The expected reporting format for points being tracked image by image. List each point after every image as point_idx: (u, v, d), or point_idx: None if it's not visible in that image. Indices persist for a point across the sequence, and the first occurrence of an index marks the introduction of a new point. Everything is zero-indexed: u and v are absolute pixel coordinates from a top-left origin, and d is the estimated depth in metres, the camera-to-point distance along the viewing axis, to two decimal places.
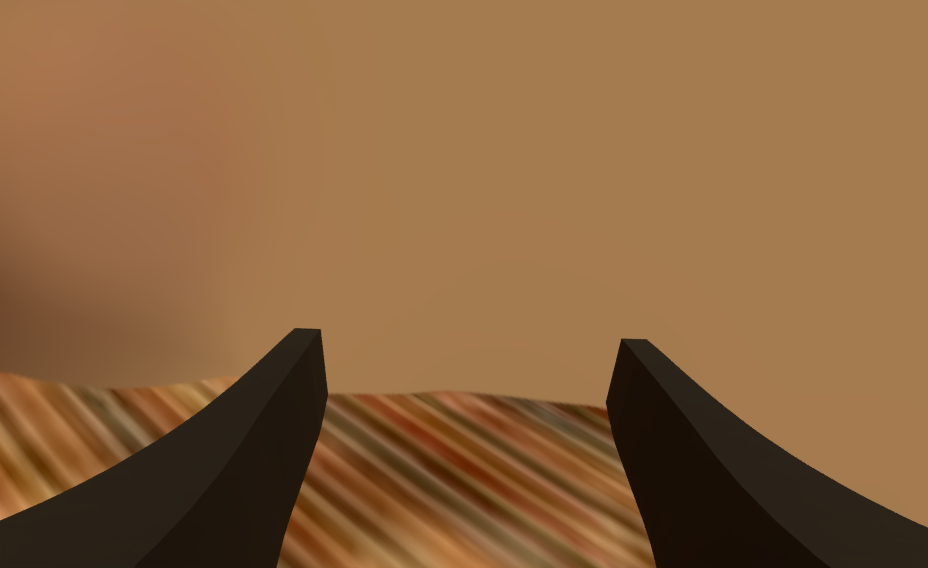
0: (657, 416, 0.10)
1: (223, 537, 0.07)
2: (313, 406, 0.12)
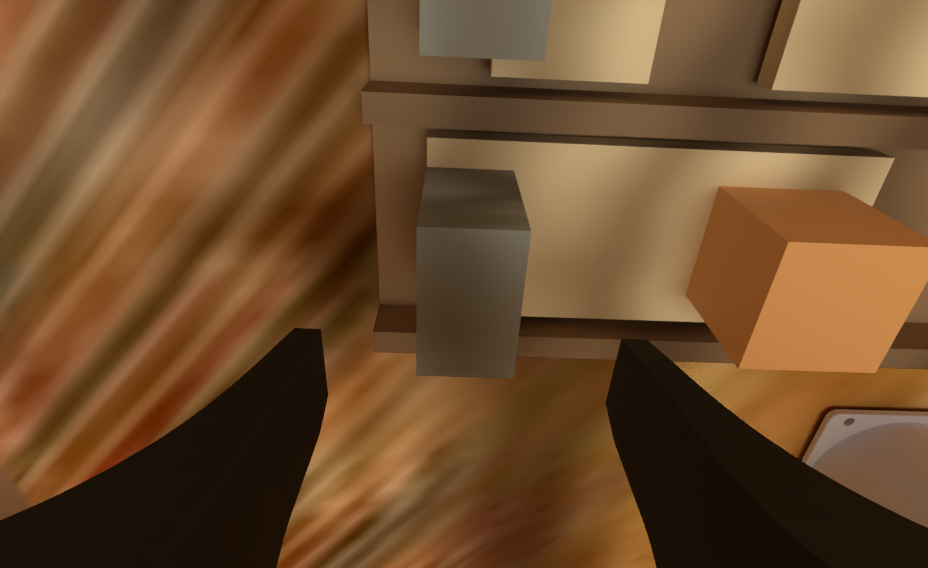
0: (657, 416, 0.10)
1: (223, 537, 0.08)
2: (313, 406, 0.12)
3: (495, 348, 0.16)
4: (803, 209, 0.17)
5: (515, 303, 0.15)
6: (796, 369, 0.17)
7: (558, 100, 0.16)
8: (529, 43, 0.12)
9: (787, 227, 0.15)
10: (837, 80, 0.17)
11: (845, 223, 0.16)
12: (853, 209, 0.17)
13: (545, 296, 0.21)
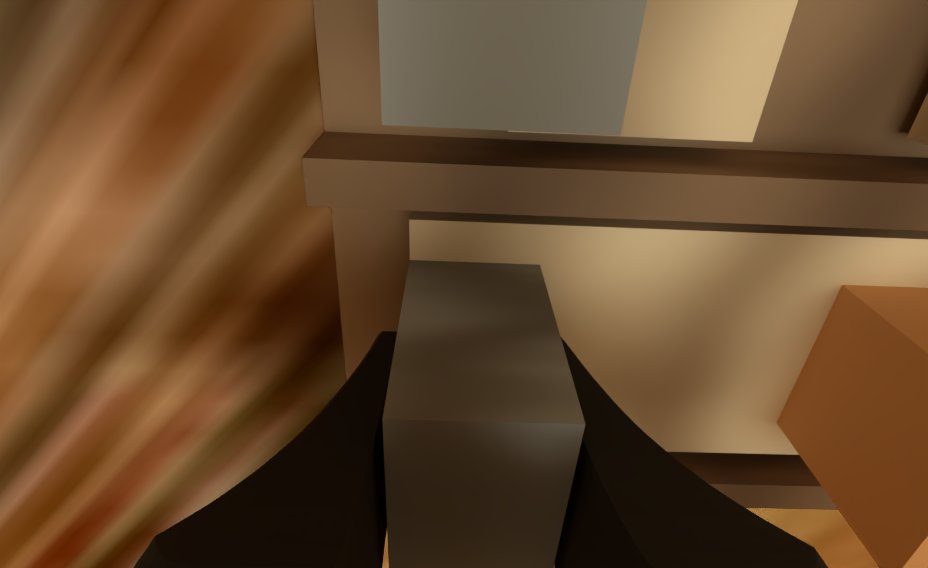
0: None
1: (364, 540, 0.08)
2: None
3: None
4: None
5: (552, 521, 0.09)
6: None
7: (614, 170, 0.10)
8: (593, 102, 0.06)
9: None
10: None
11: None
12: None
13: None
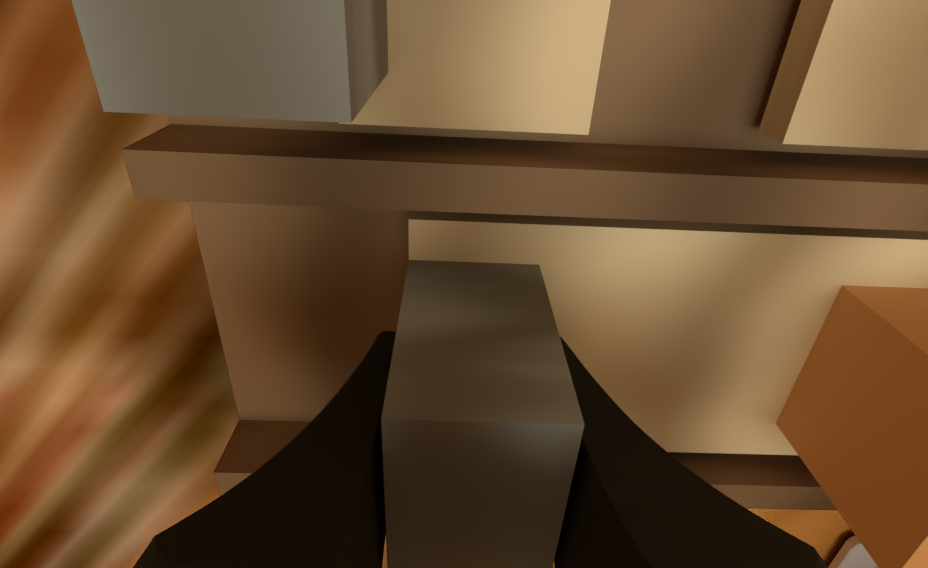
0: None
1: (364, 540, 0.08)
2: None
3: None
4: None
5: (551, 521, 0.09)
6: None
7: (443, 163, 0.10)
8: (315, 88, 0.06)
9: None
10: (885, 129, 0.11)
11: None
12: None
13: None
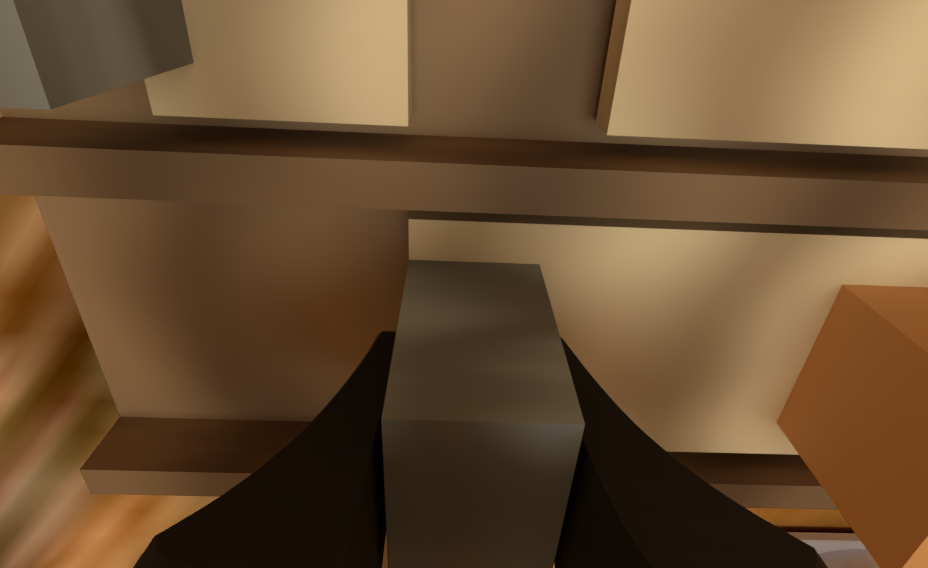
0: None
1: (364, 540, 0.08)
2: None
3: None
4: None
5: (551, 521, 0.09)
6: None
7: (253, 154, 0.10)
8: (4, 74, 0.06)
9: None
10: (709, 120, 0.10)
11: None
12: None
13: None
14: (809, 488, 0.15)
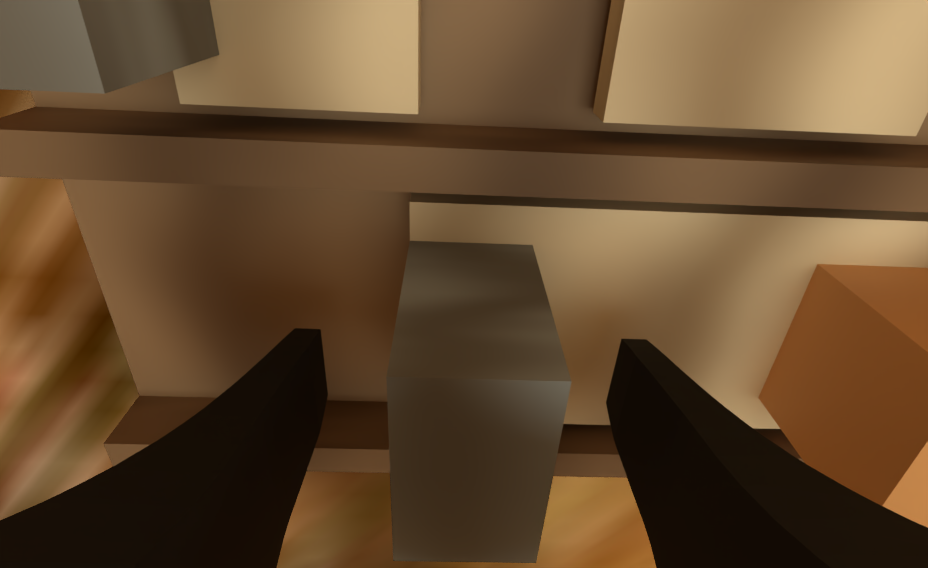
0: (657, 416, 0.10)
1: (223, 537, 0.07)
2: (313, 406, 0.12)
3: (510, 529, 0.10)
4: None
5: (542, 475, 0.10)
6: None
7: (275, 140, 0.11)
8: (64, 62, 0.07)
9: None
10: (698, 108, 0.11)
11: None
12: None
13: (571, 400, 0.15)
14: None
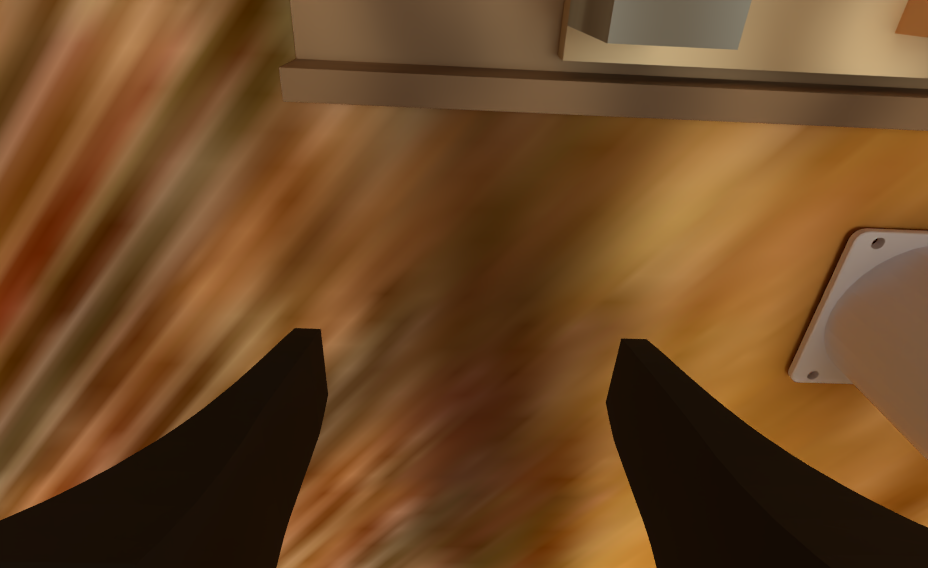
0: (657, 416, 0.10)
1: (223, 537, 0.07)
2: (313, 406, 0.12)
3: None
4: None
5: None
6: None
7: None
8: None
9: None
10: None
11: None
12: None
13: None
14: (927, 103, 0.17)
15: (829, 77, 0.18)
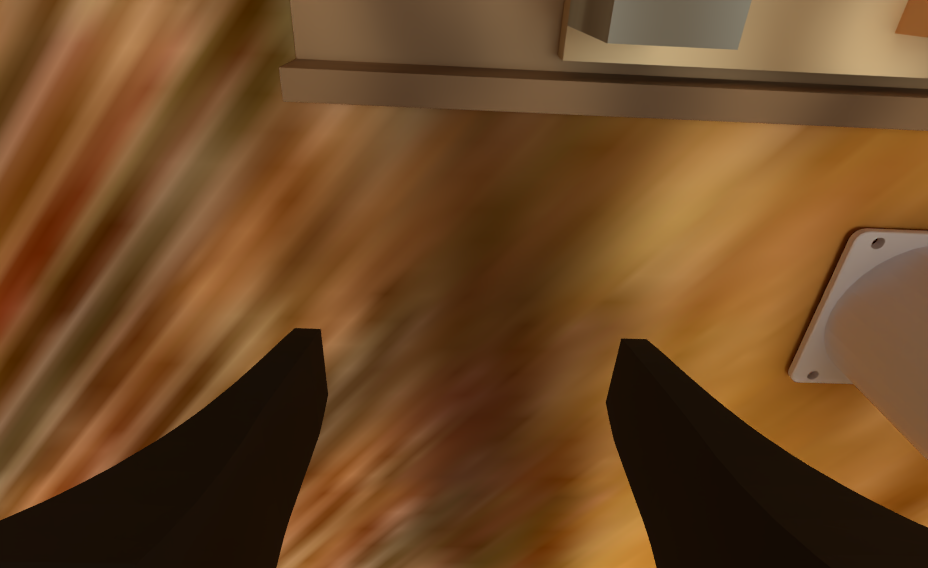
0: (657, 416, 0.10)
1: (223, 537, 0.07)
2: (313, 406, 0.12)
3: None
4: None
5: None
6: None
7: None
8: None
9: None
10: None
11: None
12: None
13: None
14: (927, 103, 0.17)
15: (829, 77, 0.18)
